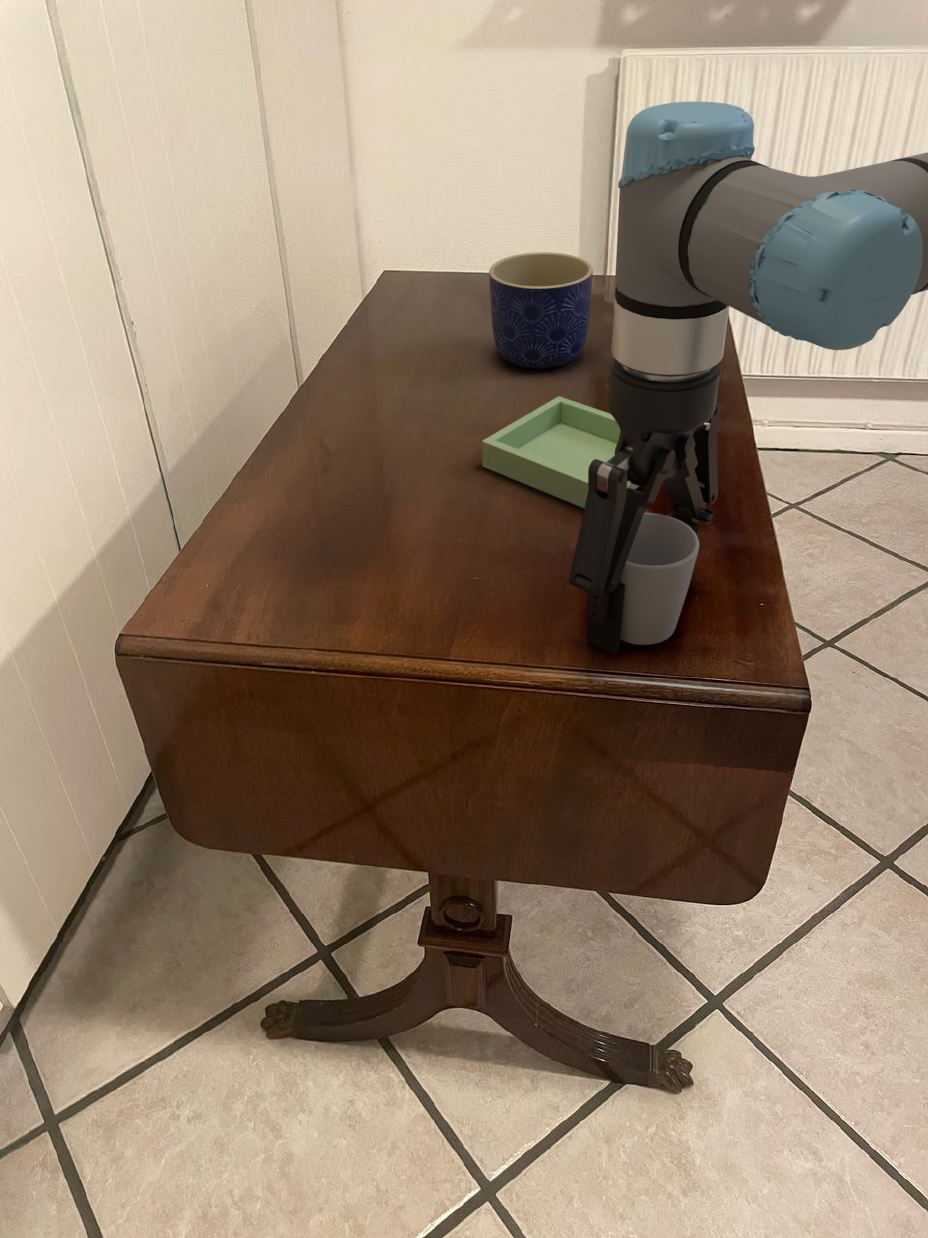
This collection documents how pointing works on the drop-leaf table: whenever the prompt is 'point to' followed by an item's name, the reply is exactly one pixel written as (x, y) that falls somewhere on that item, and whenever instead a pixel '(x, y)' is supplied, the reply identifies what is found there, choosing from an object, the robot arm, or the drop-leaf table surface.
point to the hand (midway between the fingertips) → (639, 613)
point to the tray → (554, 448)
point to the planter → (540, 307)
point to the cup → (657, 578)
